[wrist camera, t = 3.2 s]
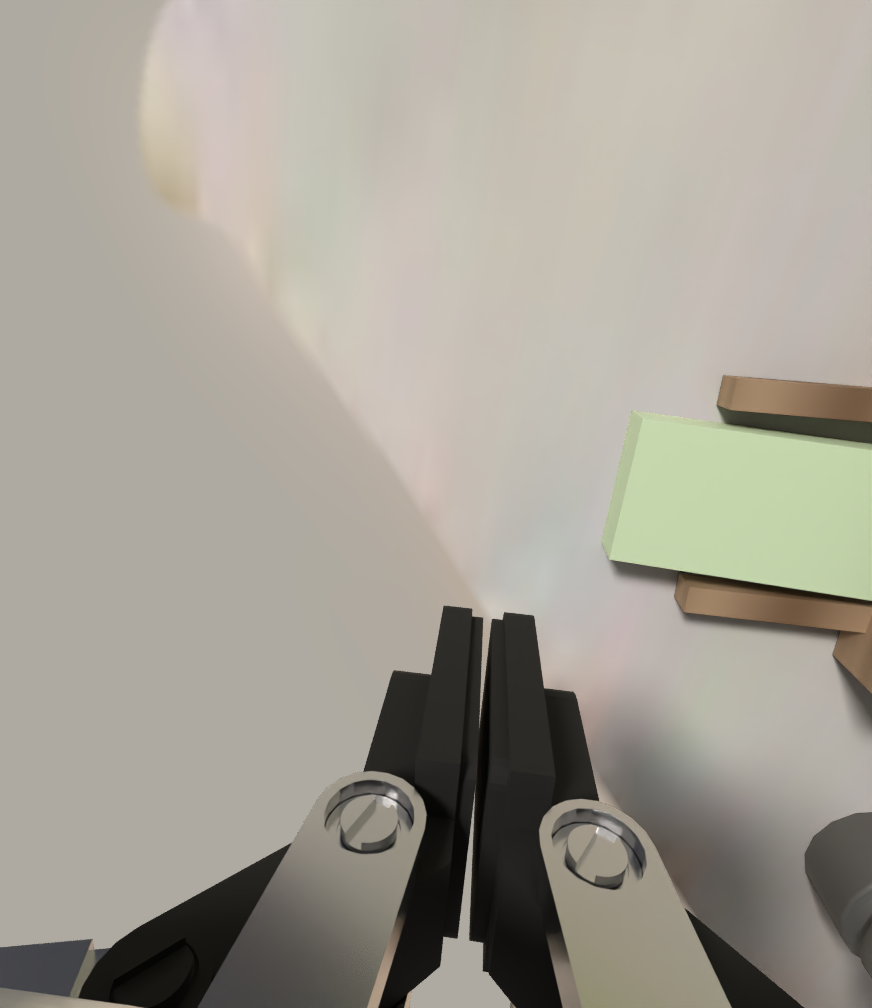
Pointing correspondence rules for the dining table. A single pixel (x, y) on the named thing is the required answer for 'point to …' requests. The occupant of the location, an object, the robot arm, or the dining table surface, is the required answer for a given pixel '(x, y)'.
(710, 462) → the tile
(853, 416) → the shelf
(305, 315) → the dining table surface
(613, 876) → the robot arm
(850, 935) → the candle holder
